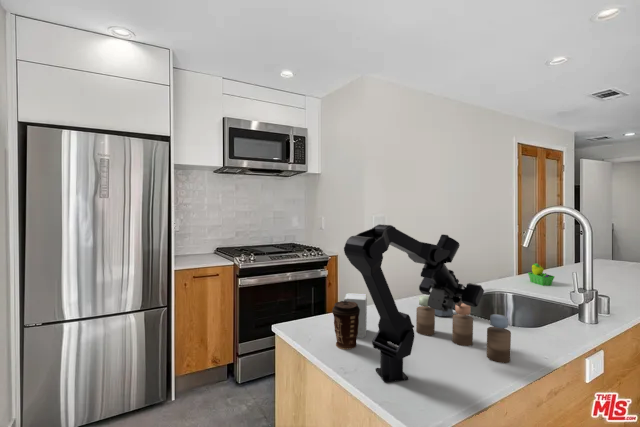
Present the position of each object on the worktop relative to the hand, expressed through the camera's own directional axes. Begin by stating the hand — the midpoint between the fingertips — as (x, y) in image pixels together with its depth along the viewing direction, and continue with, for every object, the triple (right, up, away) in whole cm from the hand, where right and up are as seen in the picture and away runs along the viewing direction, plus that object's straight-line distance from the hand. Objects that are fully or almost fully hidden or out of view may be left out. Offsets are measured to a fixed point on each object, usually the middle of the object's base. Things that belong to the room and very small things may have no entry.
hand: (459, 305), depth 106 cm
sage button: (-8, -2, +10) cm, 13 cm away
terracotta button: (+1, -3, +1) cm, 3 cm away
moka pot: (+5, -12, +29) cm, 31 cm away
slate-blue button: (+7, -3, -10) cm, 13 cm away
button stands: (0, -12, +1) cm, 12 cm away
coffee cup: (-36, -12, -1) cm, 38 cm away
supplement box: (-32, -12, +9) cm, 35 cm away
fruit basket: (+76, -10, +79) cm, 111 cm away
